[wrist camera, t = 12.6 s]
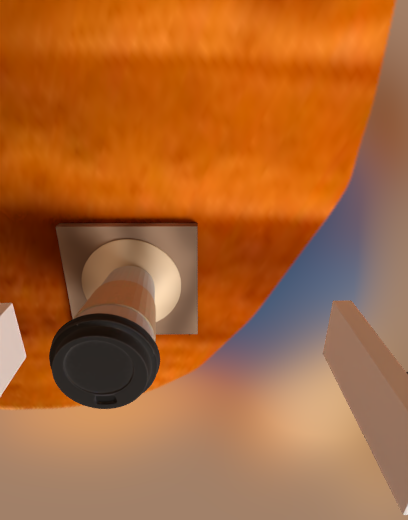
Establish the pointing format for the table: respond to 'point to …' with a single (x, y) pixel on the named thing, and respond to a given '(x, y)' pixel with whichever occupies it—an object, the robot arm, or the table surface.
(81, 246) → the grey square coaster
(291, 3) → the table surface
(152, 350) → the coffee cup
